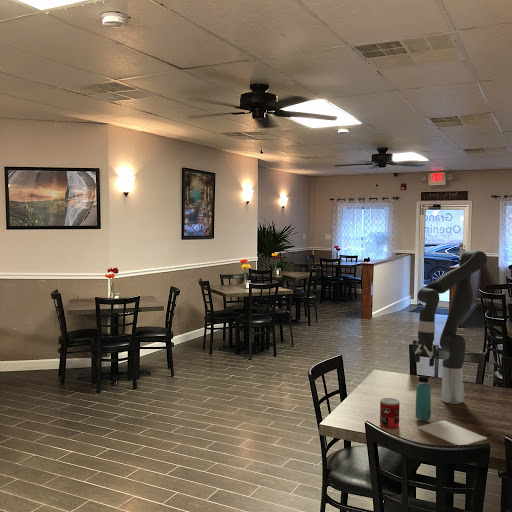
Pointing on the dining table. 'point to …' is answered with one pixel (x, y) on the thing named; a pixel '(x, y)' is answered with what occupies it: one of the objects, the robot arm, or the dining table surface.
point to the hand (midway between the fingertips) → (424, 364)
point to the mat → (452, 433)
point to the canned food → (389, 413)
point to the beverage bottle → (423, 399)
